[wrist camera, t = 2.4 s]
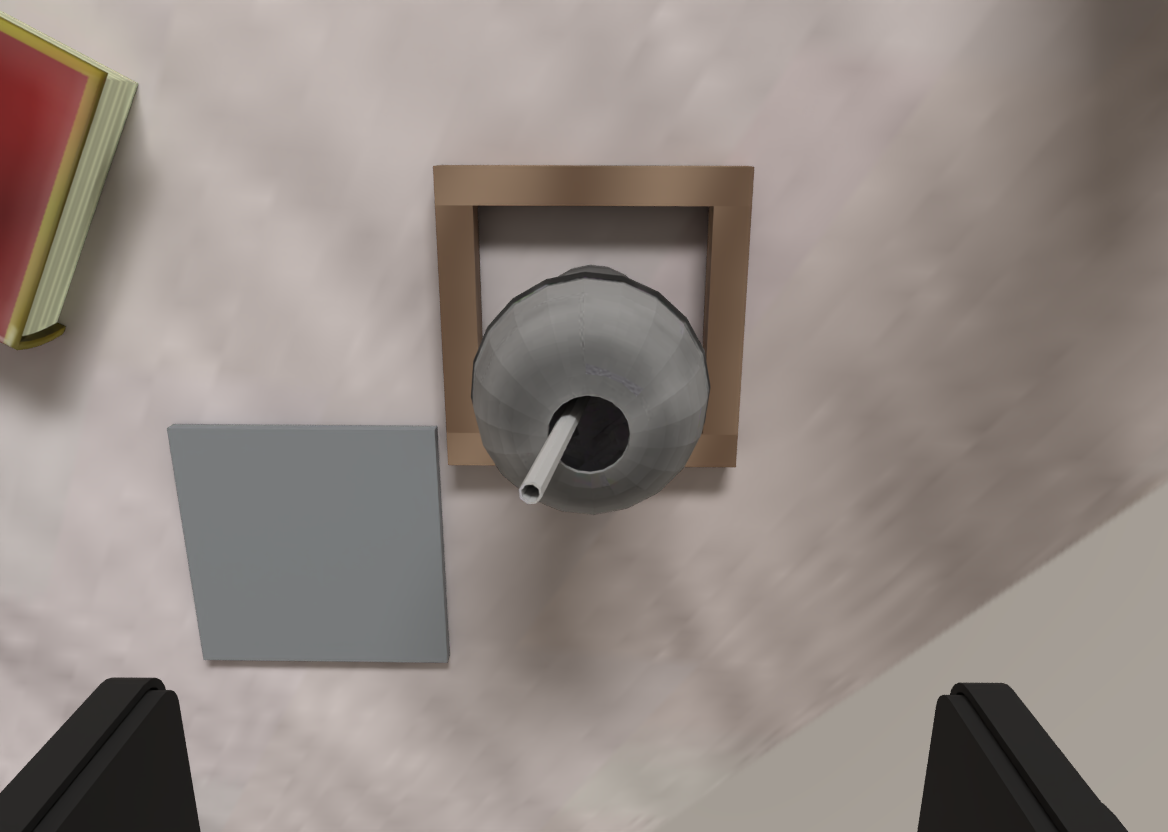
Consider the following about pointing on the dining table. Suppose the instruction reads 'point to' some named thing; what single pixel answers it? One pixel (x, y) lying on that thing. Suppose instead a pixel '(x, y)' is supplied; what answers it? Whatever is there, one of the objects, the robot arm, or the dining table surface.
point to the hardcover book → (49, 171)
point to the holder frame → (594, 187)
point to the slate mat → (314, 541)
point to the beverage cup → (590, 391)
